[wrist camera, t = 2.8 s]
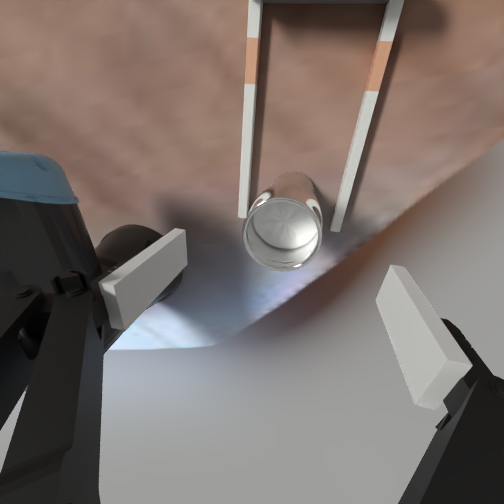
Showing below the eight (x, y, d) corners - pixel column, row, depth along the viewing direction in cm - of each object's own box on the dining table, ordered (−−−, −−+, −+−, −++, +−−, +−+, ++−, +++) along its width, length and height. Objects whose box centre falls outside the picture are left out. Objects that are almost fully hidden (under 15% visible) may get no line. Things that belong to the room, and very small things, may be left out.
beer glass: (274, 161, 31) (249, 183, 18) (326, 176, 30) (339, 209, 17) (261, 210, 34) (232, 259, 21) (308, 224, 33) (307, 283, 20)
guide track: (338, 229, 33) (343, 244, 28) (240, 214, 35) (230, 226, 31) (408, -27, 21) (435, -69, 17) (253, -25, 23) (240, -61, 19)
